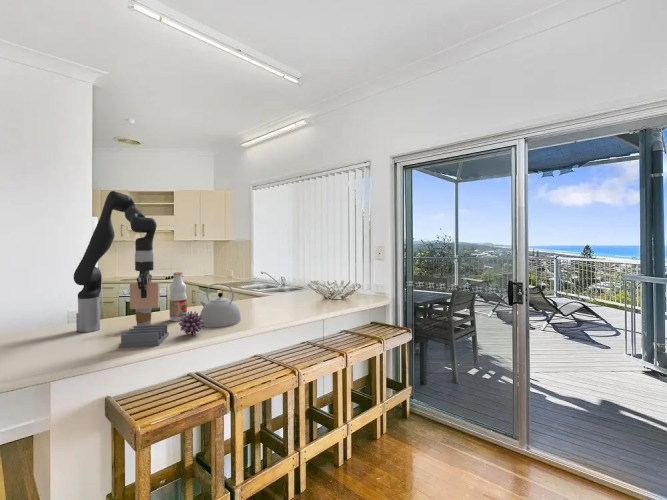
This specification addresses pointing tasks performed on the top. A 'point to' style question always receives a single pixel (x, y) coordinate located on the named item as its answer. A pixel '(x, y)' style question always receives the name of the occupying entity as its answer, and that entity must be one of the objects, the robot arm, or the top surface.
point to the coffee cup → (143, 316)
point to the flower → (191, 322)
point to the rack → (144, 336)
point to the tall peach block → (150, 300)
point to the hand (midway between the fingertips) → (144, 297)
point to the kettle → (220, 311)
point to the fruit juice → (177, 298)
